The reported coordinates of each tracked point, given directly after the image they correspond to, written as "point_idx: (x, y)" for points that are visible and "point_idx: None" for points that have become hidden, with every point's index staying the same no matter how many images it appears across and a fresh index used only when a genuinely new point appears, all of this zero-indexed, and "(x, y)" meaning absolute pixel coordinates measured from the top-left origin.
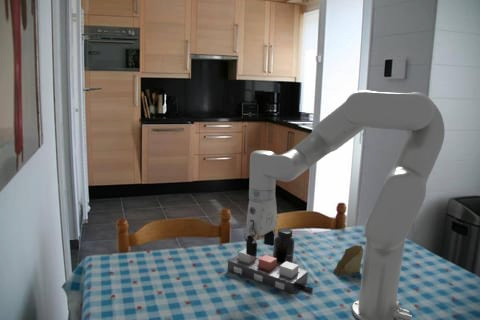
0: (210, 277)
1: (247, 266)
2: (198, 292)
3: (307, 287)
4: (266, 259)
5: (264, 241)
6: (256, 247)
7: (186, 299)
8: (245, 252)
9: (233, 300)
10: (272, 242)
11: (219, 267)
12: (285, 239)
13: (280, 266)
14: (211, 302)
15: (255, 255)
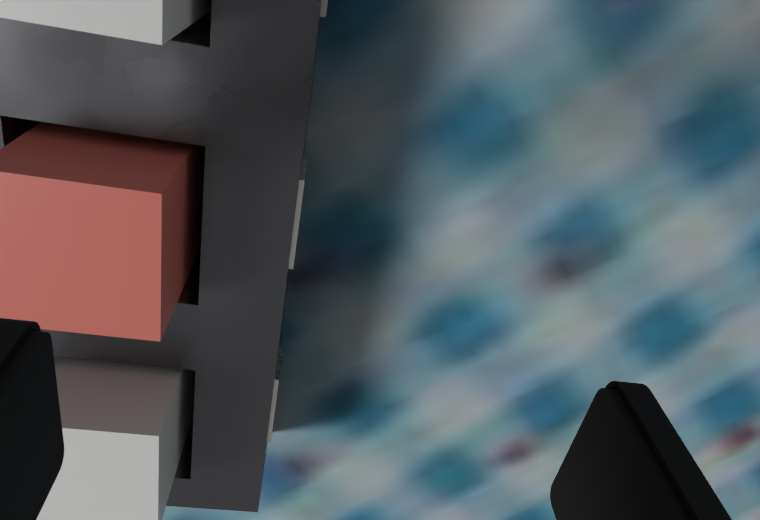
0: (399, 475)
1: (258, 363)
2: None
3: None
4: (111, 266)
5: (49, 490)
6: (700, 508)
7: (712, 455)
8: (123, 489)
9: (640, 239)
10: (17, 375)
11: None
12: None
13: (165, 31)
14: (708, 340)
15: (646, 392)
